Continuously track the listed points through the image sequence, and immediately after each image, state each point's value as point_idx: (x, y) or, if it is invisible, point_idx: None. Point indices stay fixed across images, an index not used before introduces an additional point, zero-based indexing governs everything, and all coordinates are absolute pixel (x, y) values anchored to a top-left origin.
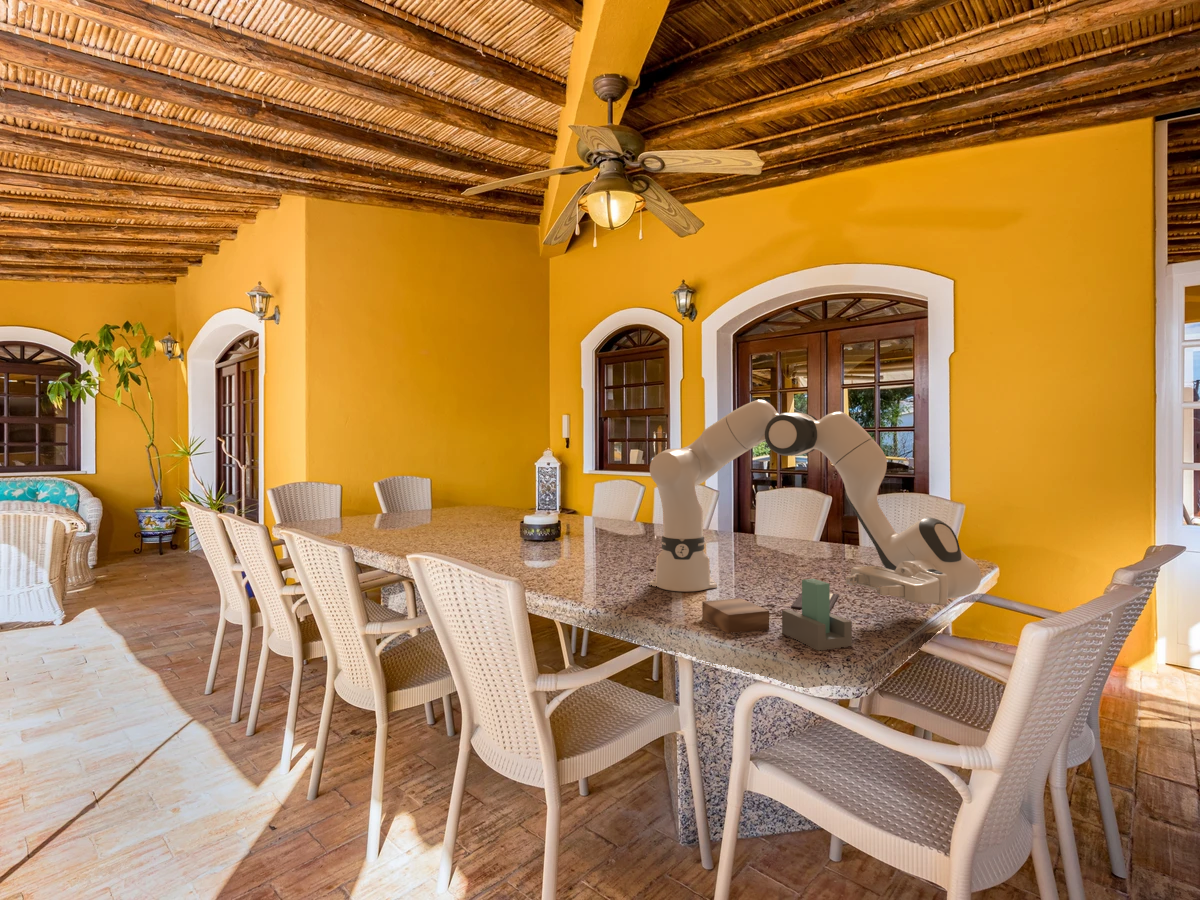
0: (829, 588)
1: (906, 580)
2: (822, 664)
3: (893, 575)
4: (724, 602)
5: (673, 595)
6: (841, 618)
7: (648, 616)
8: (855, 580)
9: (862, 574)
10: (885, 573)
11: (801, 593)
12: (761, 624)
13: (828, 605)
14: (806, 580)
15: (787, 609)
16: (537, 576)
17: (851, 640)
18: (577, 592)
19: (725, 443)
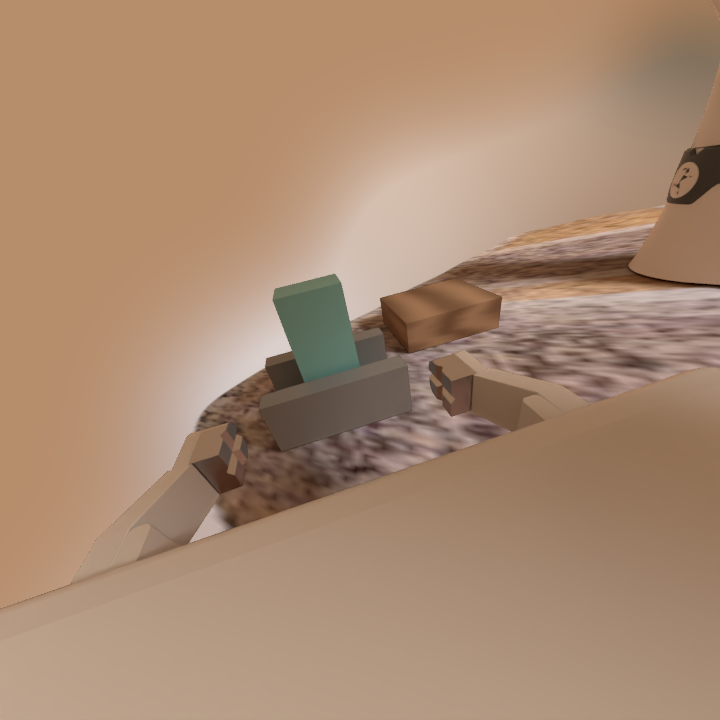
0: (277, 312)
1: (15, 710)
2: (231, 391)
3: (352, 690)
4: (456, 289)
5: (597, 272)
6: (290, 396)
7: (453, 278)
8: (448, 391)
9: (541, 417)
10: (500, 608)
11: None
12: (402, 338)
13: (292, 351)
14: (323, 277)
15: (381, 332)
16: (602, 217)
17: (276, 442)
18: (542, 240)
19: None
